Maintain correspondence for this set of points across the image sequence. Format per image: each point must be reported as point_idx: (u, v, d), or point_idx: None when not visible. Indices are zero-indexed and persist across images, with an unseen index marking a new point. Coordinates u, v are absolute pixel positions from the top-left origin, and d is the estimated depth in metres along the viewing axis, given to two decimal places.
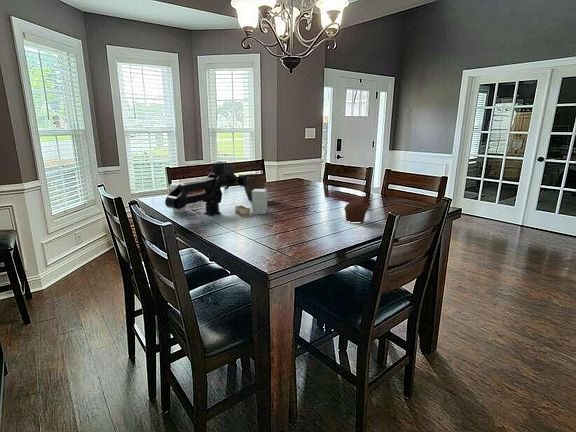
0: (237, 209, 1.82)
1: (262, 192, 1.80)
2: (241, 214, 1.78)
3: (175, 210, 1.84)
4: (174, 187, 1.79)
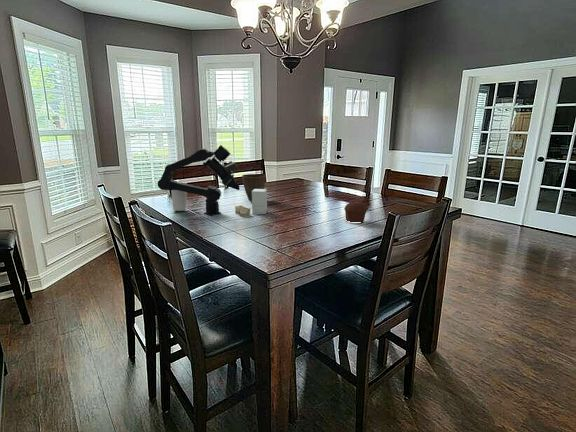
0: (237, 209, 1.82)
1: (262, 192, 1.80)
2: (241, 214, 1.78)
3: (175, 208, 1.84)
4: None
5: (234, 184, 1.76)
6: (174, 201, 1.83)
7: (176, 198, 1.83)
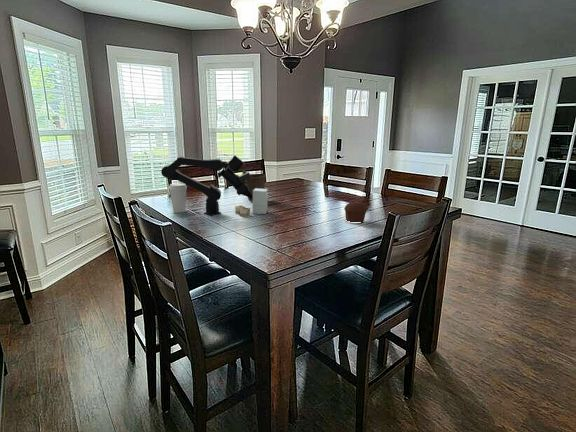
0: (237, 209, 1.82)
1: (263, 192, 1.80)
2: (241, 214, 1.78)
3: (175, 210, 1.84)
4: (174, 187, 1.79)
5: (248, 192, 1.82)
6: (174, 203, 1.82)
7: (175, 200, 1.82)
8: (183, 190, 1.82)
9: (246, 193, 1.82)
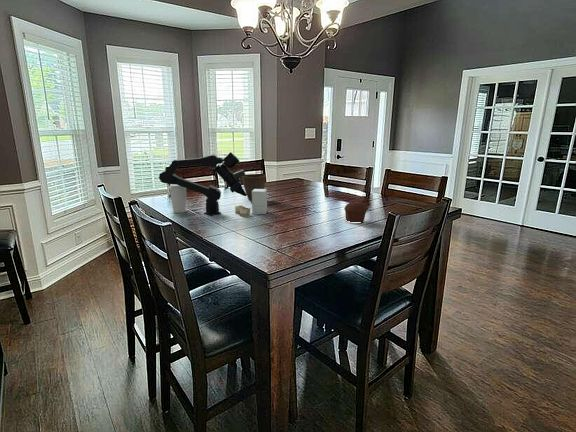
0: (237, 209, 1.82)
1: (262, 192, 1.80)
2: (241, 214, 1.78)
3: (175, 210, 1.84)
4: (174, 187, 1.79)
5: (241, 190, 1.81)
6: (174, 204, 1.82)
7: (175, 200, 1.82)
8: (183, 190, 1.82)
9: (239, 191, 1.81)
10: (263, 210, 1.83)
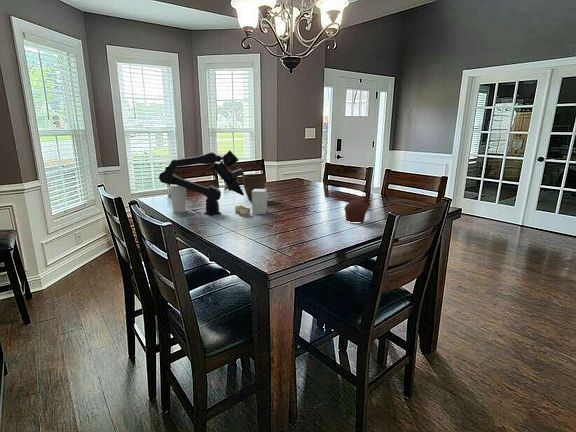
0: (237, 209, 1.82)
1: (262, 192, 1.80)
2: (241, 214, 1.78)
3: (175, 210, 1.84)
4: (174, 187, 1.79)
5: (239, 189, 1.81)
6: (174, 204, 1.82)
7: (175, 201, 1.82)
8: (183, 190, 1.82)
9: (237, 189, 1.81)
10: (263, 210, 1.83)
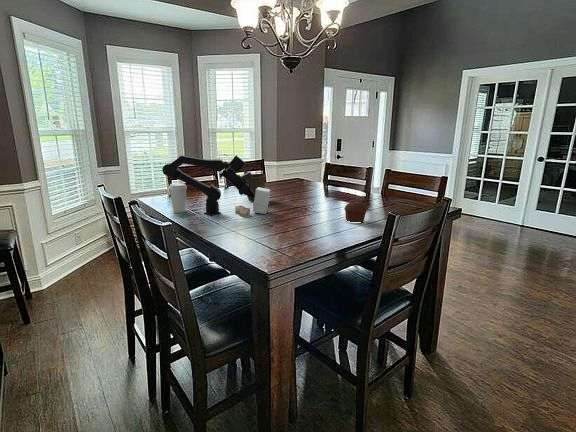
0: (237, 209, 1.82)
1: (266, 192, 1.80)
2: (241, 214, 1.78)
3: (175, 210, 1.84)
4: (174, 187, 1.79)
5: (250, 192, 1.82)
6: (174, 203, 1.82)
7: (175, 200, 1.82)
8: (183, 190, 1.82)
9: (248, 193, 1.82)
10: (264, 210, 1.83)
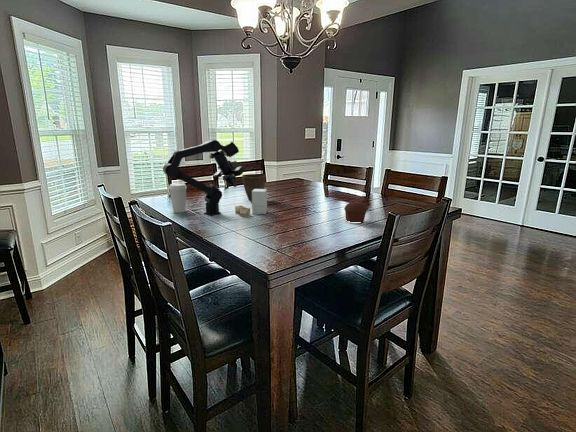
0: (237, 209, 1.82)
1: (262, 192, 1.80)
2: (241, 214, 1.78)
3: (175, 210, 1.84)
4: (174, 187, 1.79)
5: (234, 180, 1.85)
6: (174, 203, 1.82)
7: (175, 200, 1.82)
8: (183, 190, 1.81)
9: (233, 180, 1.84)
10: (263, 210, 1.83)
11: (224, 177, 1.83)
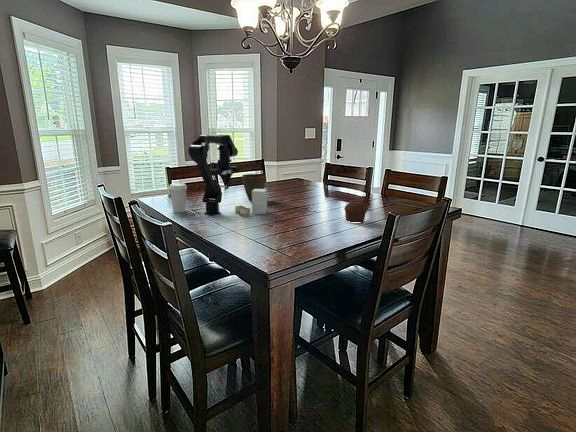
0: (237, 209, 1.82)
1: (262, 192, 1.80)
2: (241, 214, 1.78)
3: (175, 210, 1.84)
4: (174, 187, 1.79)
5: None
6: (174, 203, 1.82)
7: (175, 200, 1.82)
8: (183, 190, 1.81)
9: None
10: (263, 210, 1.83)
11: (225, 173, 1.88)
